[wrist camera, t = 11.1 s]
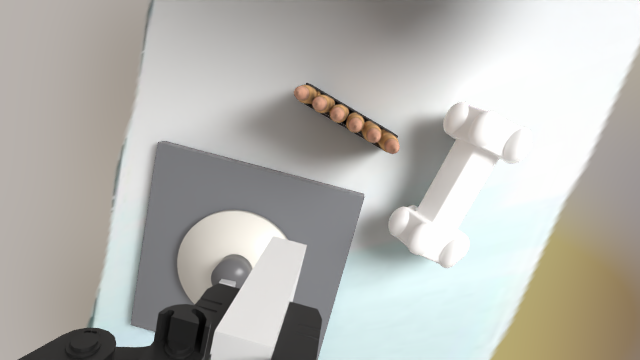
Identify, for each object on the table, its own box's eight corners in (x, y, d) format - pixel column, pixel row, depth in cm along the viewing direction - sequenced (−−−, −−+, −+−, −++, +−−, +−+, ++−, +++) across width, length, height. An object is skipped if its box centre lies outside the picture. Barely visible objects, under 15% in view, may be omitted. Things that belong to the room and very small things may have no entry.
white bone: (443, 247, 42) (471, 283, 35) (378, 218, 42) (391, 248, 34) (512, 131, 39) (560, 142, 31) (442, 97, 38) (474, 99, 30)
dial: (186, 199, 41) (168, 209, 37) (305, 221, 41) (300, 235, 37) (174, 335, 45) (156, 358, 41) (283, 358, 45) (276, 384, 40)
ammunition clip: (302, 99, 40) (281, 96, 28) (310, 84, 39) (292, 75, 28) (385, 148, 40) (399, 165, 28) (394, 133, 40) (412, 145, 28)
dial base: (164, 140, 42) (157, 142, 40) (364, 193, 41) (364, 197, 40) (137, 318, 47) (129, 325, 46) (313, 368, 46) (312, 377, 45)
